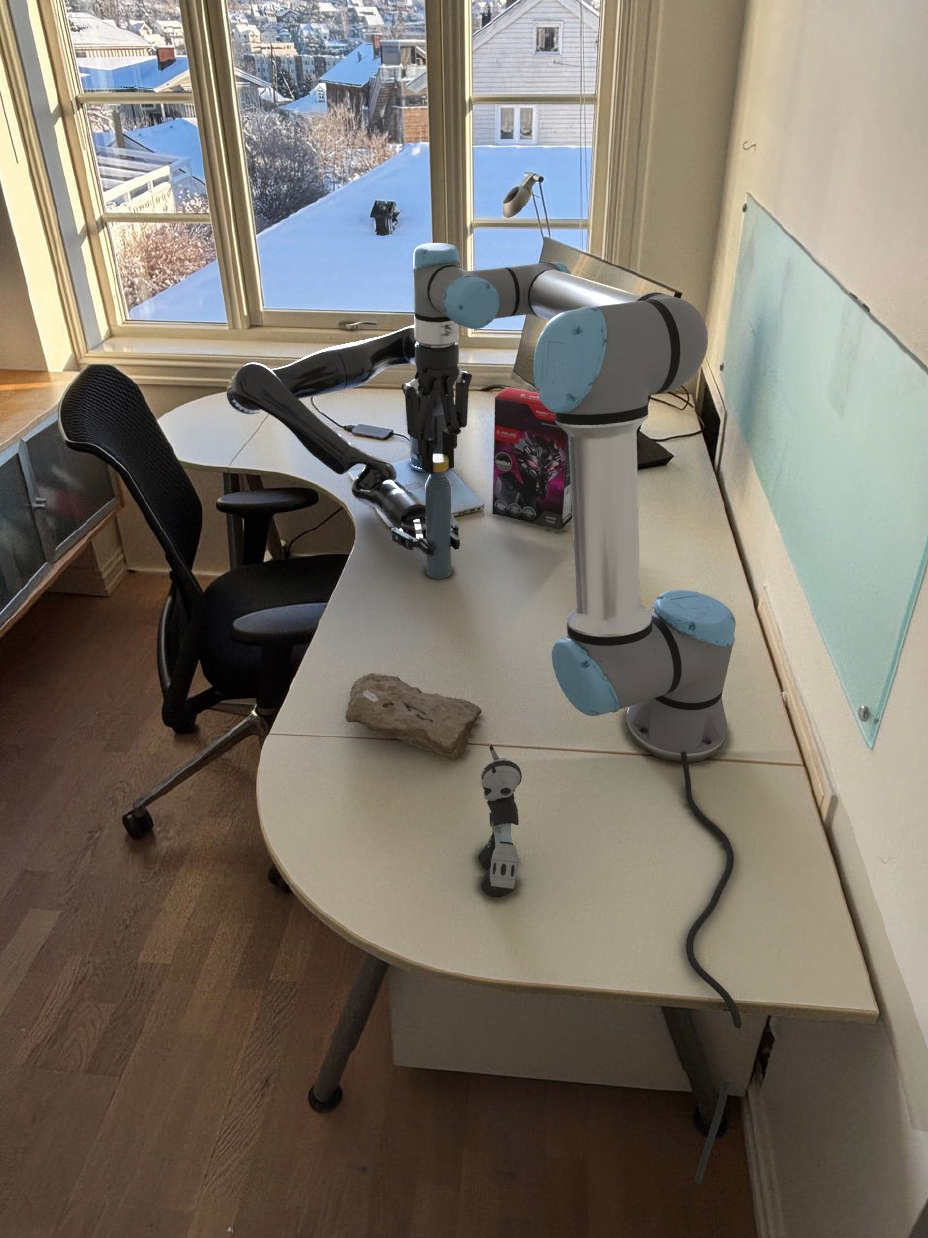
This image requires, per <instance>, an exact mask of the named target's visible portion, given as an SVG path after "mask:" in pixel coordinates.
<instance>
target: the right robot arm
mask: <svg viewBox="0 0 928 1238" xmlns="http://www.w3.org/2000/svg"><path fill="white" fill-rule="evenodd" d="M412 265H413V266H412V270H411V271H412V277H413V278H412V281H413V282H412V283H413V311H414V315H413V317H414V318H413V319H414V322H413V323H414V324H413V325H414V331H415V340H416V341H417V342H416V344H415V363H416V365H415V367H416V372H415V374H414V378H413V379H412V380H411V381H410V382H408V383H407V382H403V383H402V384H401V386H400V387H401V391H402V392H403V395H404V401H405V414H406V428H407V429H406V431H407V435H408V436H409V437H410V436H411V437H413V438H415V439H416V440H418V453H419V455H421V456H422V470H424V471H426V472H427V473H426V474H429V475H430V474H433V440H432V439H431V438H429V435H430V428H431V422H432V415H433V409H434V404H435V403H436V401H437V396H439V395H440V397H441V402H442V408H443V413H444V419H445V424H446V428H447V429H448V431H447V430H442V450H443V454H444V455H446V456H448V458H449V468H448V469H453V468H455V449H457V447H458V435H460V434H461V433H462V428H466V427H467V426H468V411H469V391H470V385H471V383H472V379H473V375H472V373H470V372H467V371H466V370H464V369H460V368H459V366H458V365H459V362H460V344H459V342H458V340H459V339H460V326H462V327H463V328H467V329H470V330H480V329H484V328H485V327H486V326H488V325H490V323H492V322H493V321H494V320H495V319H504V318H505V319H506V318H511V317H518V316H526V315H528V316H529V315H530V316H531V315H532V316H534V317H537V318H539V319H542V320H545V321H548V322H547V323H546V325H545V326H544V328H543V330H542V331H541V333H540V335H539V337H538V340H537V343H536V347H535V350H534V357H533V381H534V386H535V390H536V391H538V393H539V398H540V400H541V402H542V404H543V405H544V406H545V407H546V408H547V409H548V410H550V411H552V412H555V420H556V424H557V425H559V426H560V427H561V428H562V429H563V430H564V431H565V432H566V433H567V434H568V441H569V460H570V480H571V499H572V537H573V554H574V555H573V556H574V557H573V558H574V577H575V593H576V594H575V595H576V607H575V608H574V609H573V610H572V611H570V613H569V614H568V615H567V617H566V635H567V636H566V637H561V638H559V639H558V640H557V641H555V643H554V644H553V646H552V649H551V664H552V668H553V672H554V675H555V678H556V680H557V683H558V685H559V687H560V689H561V691H562V692H563V694H564V696H565V697H566V699H567V700H568V701H569V703H570V704H571V705H572V706H573V707H574V708H575V709H576V710H577V711H579V712H580V713H582V714H584V715H586V716H589V717H598V716H603V715H606V714H609V713H613V714H615V713H618V712H619V711H620V710H622V709H627V711H626V719H625V728H626V732H627V734H628V736H629V738H630V739H631V741H632V742H634V744H636V745H637V746H638V747H639V748H640V749H641V750H643V751H645V752H646V753H648V754H650V755H651V756H654V757H656V758H659V759H662V760H666V761H670V762H675V763H681V764H682V769H683V777H684V791H685V792H684V793H685V797H686V801H687V803H688V806H689V807H690V809H691V811H692V812H693V814H694V815H695V816H696V818H698V819H699V820H700V821H701V822H702V823H703V824H704V825H706V826H707V827H708V829H710V830H711V831H712V832H713V833H714V834H715V835H717V837H718V838H719V839H720V840H721V842H722V844H723V845H724V848H725V850H726V865H725V869H724V871H723V873H722V875H721V878H720V880H719V881H718V883H717V885H716V887H715V889H714V891H713V894H712V896H711V898H710V900H709V903H708V904H707V905H706V907H705V909H704V910H703V911H702V912H701V914H700V915H699V916H698V917H697V919H695V921H694V922H693V924H692V925H691V927H690V928H689V930H688V933H687V935H686V939H685V941H686V942H685V951H686V956H687V961H688V962H689V964H690V966H691V969H693V970H694V972H695V973H696V974H697V975H698V976H699V977H700V978H701V979H702V980H703V981H704V982H705V983H706V984H707V985H709V986H710V988H712V989H713V990H714V991H715V992H716V993H717V994H718V995H719V996H720V997H721V998H722V1000H723V1001H724V1002H725V1004H726V1006H727V1008H728V1010H729V1012H730V1015H731V1018H732V1023H733V1025H734V1027H735V1028H736V1029H741V1028H742V1026H743V1025H742V1018H741V1015H740V1012H739V1009H738V1006H737V1004H736V1003H735V1001H734V999H733V998H732V996H731V995H730V994H729V992H728V991H727V990H726V989H725V987H723V986H722V985H721V983H719V982H718V981H717V980H716V979H715V978H714V977H712V976H711V975H710V974H709V973H708V972H707V971H706V970H705V969H704V968H703V967H702V966H701V965H700V963H699V961H698V960H697V958H696V956H695V951H694V942H695V938H696V936H697V934H698V931H699V930H700V928H702V925H704V923H705V922H706V921H707V919H709V917H710V916H711V914H712V913H713V912H714V910H715V908H716V906H717V905H718V902H719V901H720V898H721V895H722V894H723V891H724V890H725V887H726V886H727V883H728V881H729V879H730V877H731V875H732V873H733V869H734V865H735V855H734V850H733V845H732V844H731V841H730V839H729V838H728V836H727V835H726V834H725V833H724V832H723V830H722V829H721V828H720V827H718V825H716V824H715V823H714V822H713V821H711V819H710V818H708V817H707V815H705V814H704V813H703V812H702V810H700V808H699V807H698V806H697V804H696V802H695V800H694V797H693V793H692V778H691V771H690V766H689V763H694V762H700V761H703V760H706V759H709V758H711V757H714V755H716V754H718V752H720V751H721V750H722V748H723V747H724V744H725V743H726V740H727V739H726V738H727V734H728V721H727V716H726V712H725V708H724V707H725V706H724V701H723V692H724V686H725V682H726V678H727V674H728V669H729V664H730V661H731V655H732V652H733V647H734V644H735V642H736V641H735V640H736V637H735V632H736V627H737V626H736V625H737V624H736V617H735V615H734V614H733V612H732V610H731V609H730V608H729V607H728V606H727V605H726V604H724V603H723V602H722V601H720V600H719V599H717V598H715V597H712V596H710V595H708V594H705V593H702V592H698V591H695V590H688V589H673V590H668V591H665V592H662V593H660V594H659V595H658V596H657V597H656V600H655V602H654V604H653V607H652V608H653V612H650V610H649V609H647V608H646V607H645V606H644V605H642V604H641V570H640V568H641V567H640V566H641V565H640V527H639V526H640V525H639V485H638V483H639V482H638V481H639V480H638V443H637V441H638V440H637V437H638V436H637V430H638V429H639V428H640V426H642V425H643V423H644V422H645V421H646V420H647V419H648V417H649V397H651V396H656V395H660V394H664V393H669V392H671V391H673V390H676V389H678V388H680V387H682V386H683V385H684V384H686V383H687V382H689V381H690V380H691V379H692V378H693V377H694V376H695V374H696V373H697V372H698V371H699V369H700V368H701V366H702V364H703V362H704V361H705V357H706V354H707V352H708V346H709V337H708V336H709V335H708V334H709V333H708V328H707V324H706V322H705V320H704V318H703V316H702V314H701V313H700V311H699V310H698V309H697V308H696V307H695V306H694V305H693V304H691V303H690V302H689V301H687V300H685V299H683V298H679V297H677V296H672V295H670V294H666V293H663V292H657V291H651V292H647V293H645V294H642V295H641V294H637V293H634V292H631V291H627V290H624V289H620V288H617V287H613V286H611V285H607V284H604V283H600V282H596V281H593V280H590V279H586V278H584V277H580V276H577V275H574V274H572V272H571V270H570V269H568V266H567V265H566V264H565V263H563V262H560V261H554V262H550V261H541V262H538V263H531V264H523V265H515V266H505V267H496V268H495V267H493V268H486V269H478V270H477V269H476V270H466V269H464V268H462V267H460V265H461V260H460V251H459V249H458V247H457V246H456V245H453V244H450V243H444V242H431V243H423V244H420V245H418V246H417V247H416V248H415V249H414V251H413V262H412ZM454 385H455V389H454ZM418 386H419V387H420V388H421V394H420V398H421V405H420V411H419V402H418V396H417V394H418V393H419V391H418ZM454 390H455V391H454ZM730 1085H731V1081H727V1080H725V1079H723V1080H722V1081H721V1086H720V1089H719V1090H720V1091H719V1094H718V1099H717V1103H716V1107H715V1110H714V1114H713V1118H712V1121H711V1124H710V1127H709V1131H708V1134H707V1137H706V1141H705V1143H704V1147H703V1150H702V1153H701V1156H700V1159H699V1163H698V1166H697V1169H696V1173H695V1177H694V1183H695V1184H697V1185H700V1184H702V1182H703V1181H702V1180H703V1177H704V1174H705V1170H706V1167H707V1163H708V1160H709V1157H710V1154H711V1151H712V1148H713V1145H714V1143H715V1140H716V1136H717V1133H718V1130H719V1127H720V1124H721V1121H722V1117H723V1114H724V1110H725V1106H726V1103H727V1098H728V1094H729V1090H730Z"/></svg>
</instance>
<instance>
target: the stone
mask: <svg viewBox="0 0 928 1238" xmlns="http://www.w3.org/2000/svg"><path fill="white" fill-rule="evenodd" d="M349 697H350V698H349V701H348V704H347V706H348V707H347V709H346V712H345V717H344V718H345V721H346V722H347V723H349V724H350V723H359V724H361V725H364V726H365V727H366V729H367V730H368V731H370V732H372V733H377V734H382V736H383V737H387V738H390V739H391V738H392V739H398V740H399V741H401V742H404V743H406V744H410V745H413V746H416V747H418V748H420V749H422V750H424V751H426V752H428V753H437V754H440V755H442V756H444V757H445V758H447V759H449V760H452V761H456V760H458V759H460V758H462V756H463V755H464V752H465V750H466V748H467V745H468V744H469V736H470V734H471V732H472V730H473V728H474V726H475V723H476V722H477V720H478V718H479V716H480V715H481V714H482V711H483V709H482V708H481V707H480V706H478V705H476V704H475V703H473V702H472V701H470V700H466V699H464V698H456V697H449V696H444V695H441V694H439V693H429V692H423V691H422V690H421V689H420V688H419V687H417V686H415V687H414V686H410V685H409V684H408V683H407V682H406V681H403V680H401V677H399V676H394V675H389V674H379V673H377V674H376V673H374V672H373V673H372V672H370V673H368V674H366V675H363V676H362V677H359V678H358V679H356V680H355V681H354V682H353V684H352V685H351V690H350V692H349Z"/></svg>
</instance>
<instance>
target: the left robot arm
mask: <svg viewBox="0 0 928 1238" xmlns="http://www.w3.org/2000/svg"><path fill="white" fill-rule="evenodd" d="M416 342H417V341H416V340H415V331H414V324H413V325H410V326H407V327H404V328H402V329H399V330H397V331H393V332H391V333H389V334H385V335H382V336H378V337H373V338H368V339H365V340H359V341H356V342H355V341H354V342H349V343H345V344H344V343H343V344H341V345H336V346H332V347H327V348H325V349H322V350H319V351H317V352H314V353H312V354H309V355H307V356H305V357H303V358H301V359H299V360H296V361H294V362H292V363H290V364H288V365H284V366H281V367H278V368H271V369H270V368H269V367H267V366H266V365H264V364H261V363H258V362H249V363H246V364H244V365H242V366H241V367H240V368H238V370H236V372H235V374H234V375H233V376H232V377H231V379H230V380H229V382H228V383H227V387H226V399H227V402H228V404H229V405H230V407H231V408H232V409H234V410H235V411H236V412H238V413H241V414H243V415H249V416H255V415H259V414H262V413H264V412H265V413H266V414H268V415H270V416H272V417H273V418H275V419H276V420H278V421H279V422H280V423H281V424H283V425H284V426H285V427H286V428H287V429H288V430H289V431H290V432H291V433H292V434H293V435H294V436H295V438H296V439H297V440H298V441H299V442H300V444H301V445H302V446H303V447H304V448H305V450H307V452H309V453H310V455H312V456H313V457H314V458H315V459H317V460H318V461H319V462H320V463H322V464H323V465H324V466H326V467H327V468H328V469H330V470H331V471H332V472H334V473H335V474H337V475H340V476H342V475H345V474H346V473H348V472H349V471H350V470H352V468H354V467H355V466H357V465H364V467H363V468H362V469H361V470H360V472H359V473H358V475H357V476H356V477H355V478H354V480H352V483H351V486H350V491H351V494H352V496H353V498H355V500H357V501H358V502H360V503H361V504H364V505H367V506H368V507H371V508H376V509H378V511H380V512H381V513H382V514H383V515H384V516H385V518H386V520H388V522H389V523H390V524H391V525H392V526H393V527H392V528H391V529H390V530H391V541H392V542H394V543H395V544H397V545H398V546H401V547H402V548H403V549H406V550H407V551H413V550H414V549H415V548H416V549H417V550H420V551H421V552H422V553H423V554H424V555H425V556H426V555H429V556H430V557H431V556H434V547H433V545H432V544H431V543H430V542H428V541H427V540H426V509H425V503H424V502H423V501H422V500H421V499H420V498H419V497H418V496H416V494H414V493H413V492H411V491H409V490H407V489H406V488H405V487H404V486H403V485H402V484H401V483H400V482H398V481H397V477H398V476H397V475H398V474H397V471H396V469H395V467H394V466H393V465H392V464H391V462H388V461H387V460H385V459H382V458H380V457H378V456H375V455H372V454H370V453H368V452H366V451H364V450H361V449H360V448H358V446H357V447H356V446H355V445H353V444H352V443H351V442H350V441H348V439H346V438H345V437H343V436H342V435H341V434H339V433H338V432H337V431H336V430H334V429H333V428H332V427H331V426H329V425H328V424H326V422H324V421H323V420H322V419H321V418H319V416H317V415H316V414H315V413H314V412H313V411H311V410H310V408H308V407H307V406H306V405H305V403H304V402H302V401H301V400H302V399H309V398H313V397H318V396H319V397H320V396H323V395H327V394H332V393H339V392H343V391H346V390H349V389H353V388H357V387H360V386H362V385H365V384H366V383H368V382H370V381H371V380H372V379H373V378H375V377H376V376H377V375H378V374H380V373H381V372H383V371H384V370H387V369H389V368H393V367H399V366H403V365H414V366H416V363H415V344H416ZM418 391H419V393H418V394H417V396H418V402H419V411H420V405H421V398H420V394H421V388H420V387H419V386H418ZM442 430H447V431H448V429H447V428H446V424H445V419H444V413H443V408H442V402H441V397H440V395H439V396H437V401H436V403H435V404H434V409H433V415H432V422H431V428H430V435H429V438H431V439H432V440H433V454H443V450H442ZM409 456H410V460H409V466H410V468H411V469H412V470H413V471H416V472H420V473H424V474H425V473H426V474H428V473H427V472H426V471H424V470H422V469H418V468H415V467H413V466H412V465H411V464H410V462H411V463H412V464H413V465H414V466H417V467H420V468H422V456H421V455H419V453H418V440H416V439H415V438H413V437H411V436H410V435H409ZM459 529H460V525H459V524H458V522H457V520H456V518H455V516H454V515H453V514H452V513H451V548H452V549H453V550H455V551H457V550H459V549H460V547H461V539H460V535H459V533H460V532H459Z"/></svg>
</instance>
